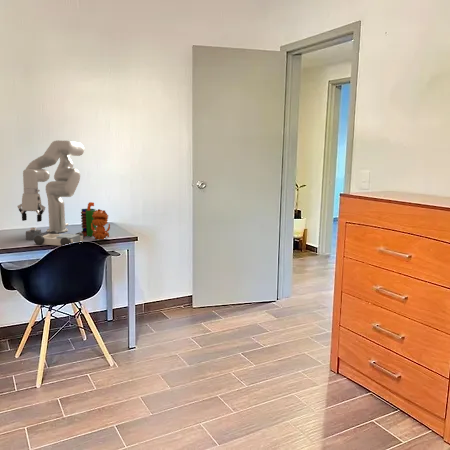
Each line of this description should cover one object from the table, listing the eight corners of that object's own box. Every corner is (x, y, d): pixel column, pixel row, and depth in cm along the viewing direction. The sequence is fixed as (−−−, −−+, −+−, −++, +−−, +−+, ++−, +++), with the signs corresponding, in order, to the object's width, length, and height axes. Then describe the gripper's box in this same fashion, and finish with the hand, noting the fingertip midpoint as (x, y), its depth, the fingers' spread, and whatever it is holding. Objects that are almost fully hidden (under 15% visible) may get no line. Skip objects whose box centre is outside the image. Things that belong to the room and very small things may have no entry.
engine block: (33, 237, 263) (33, 226, 262) (41, 238, 262) (40, 227, 261) (26, 239, 256) (25, 228, 255) (33, 240, 255) (33, 229, 254)
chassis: (50, 238, 260) (50, 230, 259) (85, 241, 256) (84, 232, 255) (33, 244, 245) (33, 235, 244) (69, 247, 240) (69, 238, 239)
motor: (77, 234, 274) (76, 202, 270) (91, 232, 280) (90, 201, 277) (86, 237, 267) (85, 204, 263) (99, 235, 273) (98, 202, 270)
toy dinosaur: (88, 240, 258) (87, 209, 255) (94, 236, 269) (93, 207, 266) (107, 240, 258) (106, 210, 255) (112, 237, 268) (111, 207, 265)
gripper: (48, 191, 256) (49, 220, 258) (21, 190, 259) (22, 219, 262) (40, 192, 249) (41, 222, 251) (13, 190, 252) (14, 220, 255)
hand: (31, 220), depth 256 cm, fingers open, 9 cm apart
